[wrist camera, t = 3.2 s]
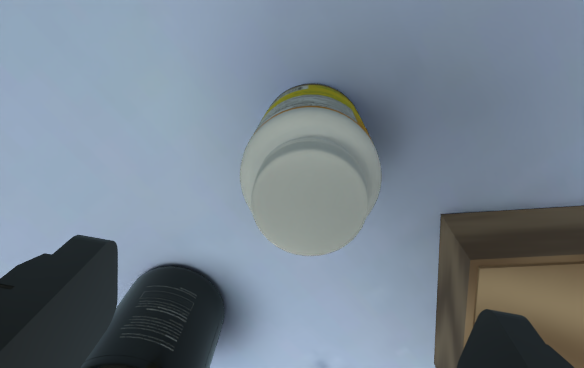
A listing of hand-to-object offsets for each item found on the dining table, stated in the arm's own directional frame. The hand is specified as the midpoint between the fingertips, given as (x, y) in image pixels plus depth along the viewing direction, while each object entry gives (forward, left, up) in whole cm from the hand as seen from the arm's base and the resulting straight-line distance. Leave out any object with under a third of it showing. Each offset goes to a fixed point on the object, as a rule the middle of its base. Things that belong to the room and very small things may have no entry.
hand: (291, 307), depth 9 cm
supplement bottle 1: (+14, -7, -15) cm, 22 cm away
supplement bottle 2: (0, 0, -15) cm, 15 cm away
